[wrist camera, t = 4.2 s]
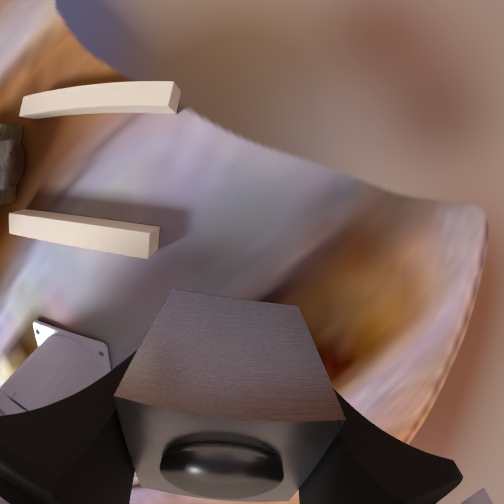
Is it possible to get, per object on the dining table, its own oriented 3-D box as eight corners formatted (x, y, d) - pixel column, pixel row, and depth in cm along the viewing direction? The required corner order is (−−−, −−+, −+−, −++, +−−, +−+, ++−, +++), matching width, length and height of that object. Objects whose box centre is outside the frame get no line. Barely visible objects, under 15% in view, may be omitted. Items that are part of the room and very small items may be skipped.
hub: (272, 394, 12) (289, 507, 6) (169, 382, 12) (139, 492, 5) (297, 306, 11) (349, 428, 5) (172, 288, 10) (109, 405, 4)
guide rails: (157, 250, 16) (148, 259, 15) (25, 228, 15) (9, 233, 14) (181, 92, 14) (173, 81, 12) (39, 100, 13) (23, 96, 11)
